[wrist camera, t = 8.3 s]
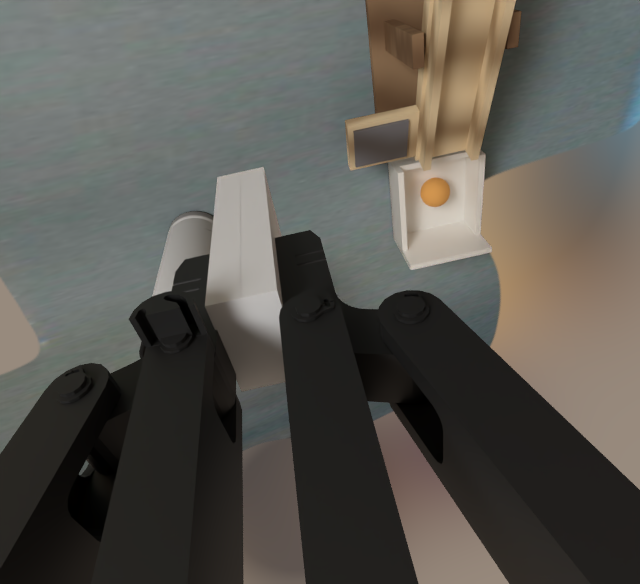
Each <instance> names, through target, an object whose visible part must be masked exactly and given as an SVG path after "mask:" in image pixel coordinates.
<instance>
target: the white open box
mask: <svg viewBox="0 0 640 584" xmlns="http://www.w3.org/2000/svg"><path fill="white" fill-rule="evenodd" d="M485 157H486V154H485V153H484V152H483V151H481V150H480V154H479V158H478V159H477V160H472V161H471V160H470V158H469V156H468V154H467V153H466V151H465V150H463V151H458V152H454V153H449V154H445V155H440V156H436V157H432V163H431V170H427V171H423V169H422V167H421V164H420V162H419V160H417V161H415V159H414V157H410V158H405V159H401V160H396V161H392V162H388V171H389V184H390V197H391V210H392V224H393V237H394V240H395V242H396V244H397V245H398V247H399V249H400V251H401V253H402V255H403V257H404V258H405V260H406V262H407V264H408V266H409V268H410V270H413V269H418V268H422V267H427V266H431V265H436V264H440V263H445V262H449V261H454V260H458V259H463V258H467V257H472V256H476V255H481V254H485V253H490V252H492V247H491V246H490V245H489V244H488V242H487V241H486V240H485V239H484V238H483V236H482V235H481V218H482V202H483V188H484V172H485ZM431 178H441V179H443V180H445V181H446V182H447V183H448V185H449V187H450V196H449V198H448V200H447V201H446V202H445V203H444V204H443V205H441V206H439V207H431V206H428V205H426V204H425V203H424V202H423V201H422V198H421V195H420V192H421V187H422V185H423V184H424V183H425V182H426V181H427V180H429V179H431Z"/></svg>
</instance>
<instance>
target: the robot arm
mask: <svg viewBox="0 0 640 584" xmlns="http://www.w3.org/2000/svg"><path fill="white" fill-rule="evenodd" d="M129 320H130V322H131V324H132V325H133V327H134V329H135V330H136V332H137V334H138V336H139V337H140V339H141V341H142V342H143V344H144V346H145V347H146V349H145V353H144V357H143V358H141V359H140V360H138V361H136V362H134V363H132V364H130V365H128V366H126V367H124V368H121V369H119V370H117V371H115V372H113V373H111V374H110V373H109V371H108V370H107V369H106V368H105V367H104V366H102V365H101V364H94V363H89V364H84V365H79V366H77V367H75V368H72V369H70V370H68V371H66V372H65V373H63V374H62V375H60V376H59V377H58V378H56V379H55V380H54V381H53V382H52V383H51V384H50V385H49V386H48V388H47V389H46V390H45V391H44V393H43V394H42V396H41V397H40V398H39V400H38V401H37V403H36V404H35V406H34V407H33V408H32V410H31V411H30V413H29V414H28V416H27V417H26V418H25V420H24V421H23V423H22V424H21V425H20V427H19V428H18V430H17V431H16V433H15V434H14V435H13V437H12V438H11V440H10V441H9V443H8V444H7V445H6V447H5V448H4V450H3V451H2V453H1V454H0V584H243V485H242V484H243V483H242V482H243V480H242V409H241V405H240V402H239V400H238V397H237V395H236V380H237V382H238V384H239V386H240V389H241V391H247V390H251V389H256V388H260V387H265V386H269V385H274V384H278V383H282V382H285V383H286V393H287V402H288V412H289V422H290V432H291V442H292V451H293V461H294V471H295V481H296V491H297V501H298V510H299V520H300V530H301V540H302V549H303V559H304V569H305V578H306V584H418V581H417V577H416V574H415V570H414V566H413V563H412V559H411V556H410V552H409V549H408V545H407V542H406V538H405V534H404V531H403V527H402V524H401V520H400V517H399V513H398V509H397V505H396V502H395V498H394V495H393V491H392V488H391V484H390V480H389V477H388V473H387V470H386V466H385V462H384V459H383V455H382V452H381V448H380V445H379V441H378V437H377V434H376V430H375V427H374V423H373V419H372V416H371V412H370V409H369V405H368V402H367V401H374V402H389V403H390V406H391V408H392V409H393V411H394V412H395V414H396V415H397V417H398V418H399V419H400V421H401V422H402V424H403V425H404V427H405V428H406V430H407V431H408V433H409V434H410V436H411V437H412V439H413V440H414V442H415V443H416V445H417V446H418V448H419V449H420V451H421V452H422V453H423V455H424V457H425V458H426V460H427V461H428V463H429V464H430V466H431V467H432V469H433V470H434V472H435V473H436V475H437V476H438V478H439V479H440V481H441V482H442V484H443V485H444V487H445V488H446V490H447V491H448V493H449V494H450V496H451V497H452V499H453V500H454V502H455V503H456V505H457V506H458V508H459V509H460V511H461V512H462V514H463V515H464V517H465V518H466V520H467V521H468V523H469V524H470V526H471V527H472V529H473V530H474V532H475V533H476V534H477V536H478V537H479V539H480V540H481V542H482V543H483V545H484V546H485V548H486V549H487V551H488V552H489V554H490V555H491V557H492V558H493V560H494V561H495V563H496V564H497V566H498V567H499V569H500V570H501V572H502V573H503V575H504V576H505V578H506V579H507V581H508V582H509V584H640V490H639V489H638V488H637V487H636V486H635V485H634V484H633V483H632V482H631V481H630V480H629V479H628V478H627V477H626V476H625V475H623V474H622V473H621V472H620V471H619V470H618V469H617V468H616V467H615V466H614V465H613V464H612V463H611V462H610V461H609V460H608V459H607V458H606V457H604V456H603V454H601V453H600V452H599V451H598V450H597V449H596V448H595V447H594V446H593V445H592V444H591V443H590V442H589V441H588V440H587V439H586V438H584V437H583V435H581V433H579V432H578V431H577V430H576V429H575V428H574V427H573V426H572V425H571V424H570V423H569V422H568V421H567V420H566V419H565V418H563V416H562V415H561V414H560V413H558V412H557V411H556V410H555V409H554V408H553V407H552V406H551V405H550V404H549V403H548V402H547V401H546V400H545V399H544V398H543V397H542V396H541V395H539V394H538V392H537V391H535V390H534V389H533V388H532V387H531V386H530V385H529V384H528V383H527V382H526V381H525V380H524V379H523V378H522V377H521V376H520V375H519V374H517V372H515V370H513V369H512V368H511V367H510V366H509V365H508V364H507V363H506V362H505V361H504V360H503V359H502V358H501V357H500V356H499V355H498V354H497V353H496V352H495V351H494V350H492V349H491V348H490V347H489V346H488V345H487V344H486V343H485V342H484V341H483V340H482V339H481V338H480V337H479V336H478V335H477V334H476V333H475V332H474V331H473V330H472V329H470V328H469V327H468V326H467V325H466V324H465V323H464V322H463V321H462V320H461V319H460V318H459V317H458V316H457V315H456V314H455V313H454V312H453V311H452V310H451V309H450V308H448V307H447V306H446V305H445V304H444V303H443V302H442V301H441V300H440V299H439V298H437V297H435V296H434V295H432V294H431V293H427V292H423V291H403V292H399V293H395V294H393V295H391V296H390V297H388V298H386V299H385V300H384V301H383V302H382V304H381V305H380V306H379V309H358V308H354V307H351V306H348V305H347V304H345V303H343V302H342V301H341V300H340V299H339V298H338V297H337V295H336V293H335V290H334V286H333V282H332V279H331V275H330V272H329V268H328V265H327V261H326V257H325V254H324V251H323V247H322V243H321V239H320V238H319V237H318V236H317V235H316V234H314V233H313V232H312V231H311V230H308V231H304V232H299V233H295V234H290V235H286V236H281V232H280V228H279V225H278V221H277V217H276V213H275V209H274V205H273V201H272V198H271V194H270V190H269V186H268V182H267V178H266V174H265V171H264V167H261V168H257V169H252V170H248V171H243V172H239V173H234V174H230V175H225V176H220V177H217V187H216V198H215V208H214V218H213V228H212V238H211V248H210V254H207V255H202V256H198V257H193V258H189V259H185V260H184V261H183V262H182V264H181V265H180V266H179V268H178V269H177V270H176V271H175V276H174V281H173V286H172V291H168V292H164V293H161V294H158V295H155V296H153V297H151V298H149V299H147V300H146V301H144V302H142V303H141V304H140V305H139V306H138V307H137V308H136V309H135V310H134V311H133V313H132V314H131V316H130V318H129ZM86 460H87V461H88V463H89V465H88V467H87V468H86V470H85V471H84V472H83V474H82V475H79V472H80V470H81V468H82V467H83V465H84V463H85V461H86Z"/></svg>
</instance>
